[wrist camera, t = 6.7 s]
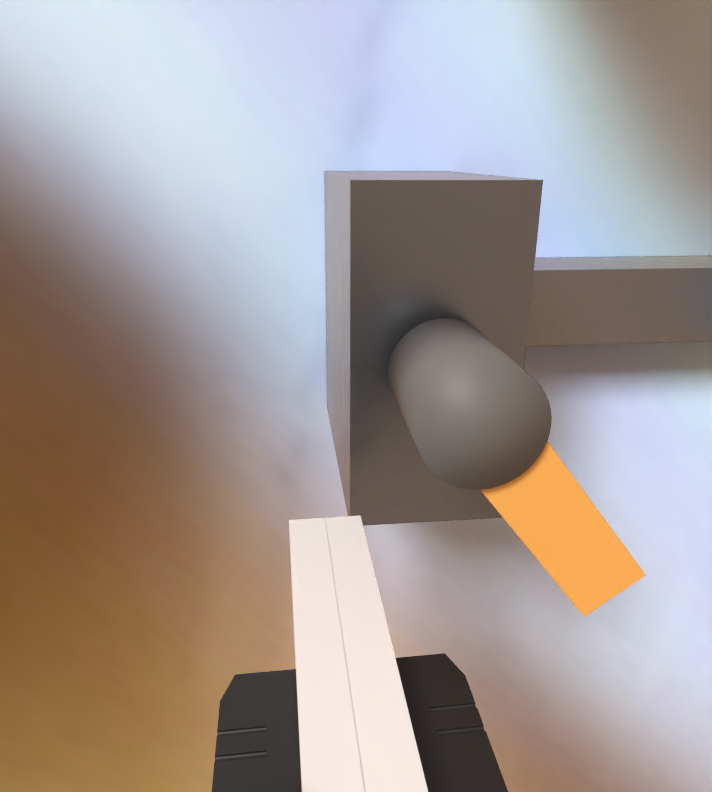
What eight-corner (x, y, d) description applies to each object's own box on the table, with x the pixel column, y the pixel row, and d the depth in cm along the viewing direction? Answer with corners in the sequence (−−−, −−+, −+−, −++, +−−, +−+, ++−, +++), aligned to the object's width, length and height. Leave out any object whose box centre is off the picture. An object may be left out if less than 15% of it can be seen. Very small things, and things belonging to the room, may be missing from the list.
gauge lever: (516, 546, 16) (569, 635, 13) (366, 364, 14) (389, 421, 11) (596, 489, 16) (670, 568, 13) (455, 295, 14) (504, 334, 11)
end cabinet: (327, 410, 23) (349, 531, 16) (324, 171, 20) (349, 179, 13) (436, 406, 24) (508, 522, 16) (448, 171, 21) (542, 180, 13)
